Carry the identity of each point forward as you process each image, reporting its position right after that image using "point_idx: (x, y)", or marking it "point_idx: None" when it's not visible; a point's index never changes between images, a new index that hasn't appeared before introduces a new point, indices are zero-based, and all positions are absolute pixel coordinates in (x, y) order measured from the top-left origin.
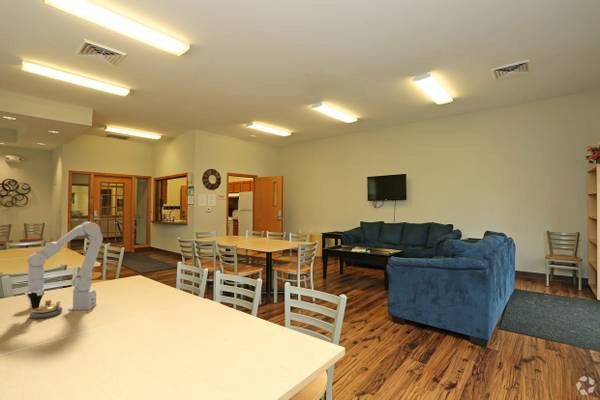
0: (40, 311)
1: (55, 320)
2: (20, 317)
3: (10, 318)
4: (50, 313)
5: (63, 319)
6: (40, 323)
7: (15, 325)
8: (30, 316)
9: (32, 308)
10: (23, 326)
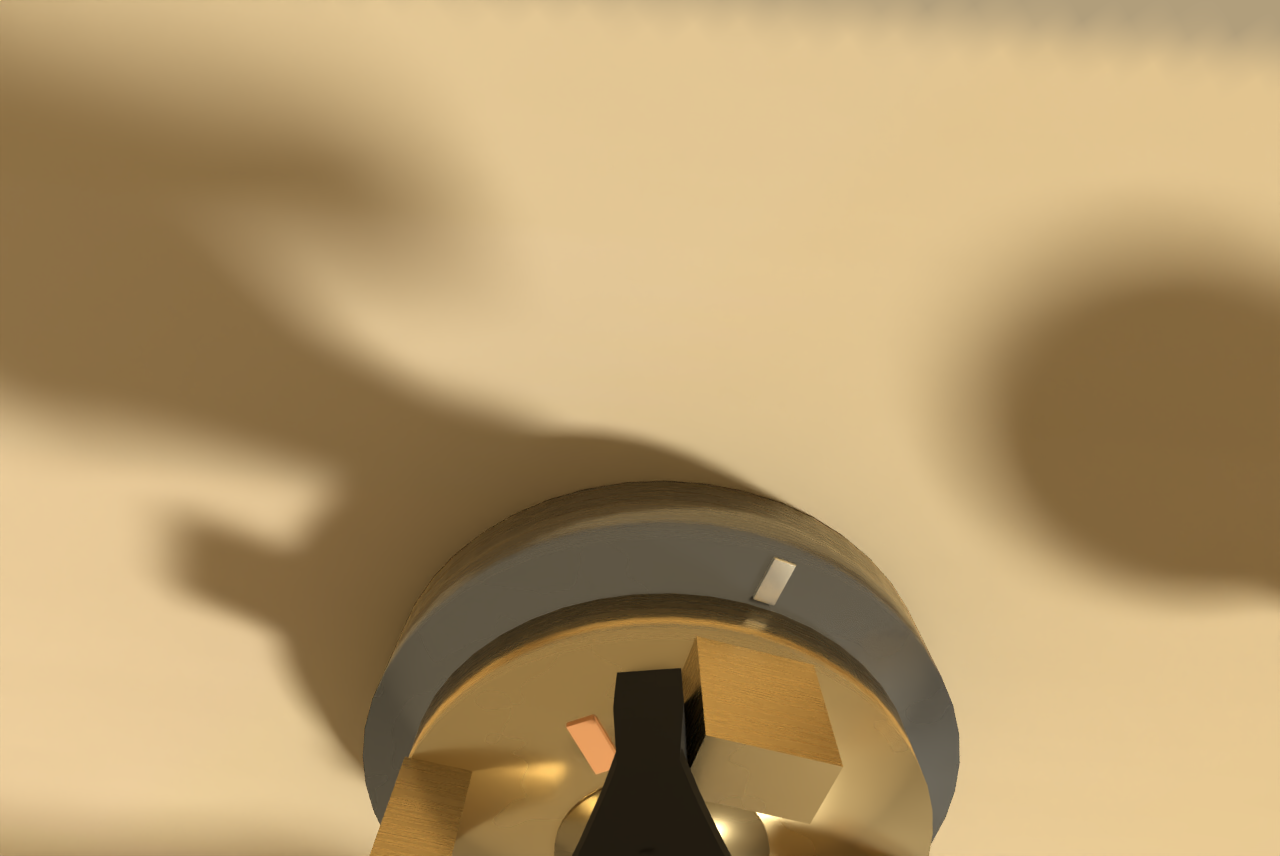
0: (423, 730)
1: (144, 754)
2: (875, 344)
3: (1001, 151)
4: (378, 798)
5: (130, 832)
6: (94, 571)
7: (247, 183)
8: (603, 510)
9: (697, 665)
10: (56, 311)
